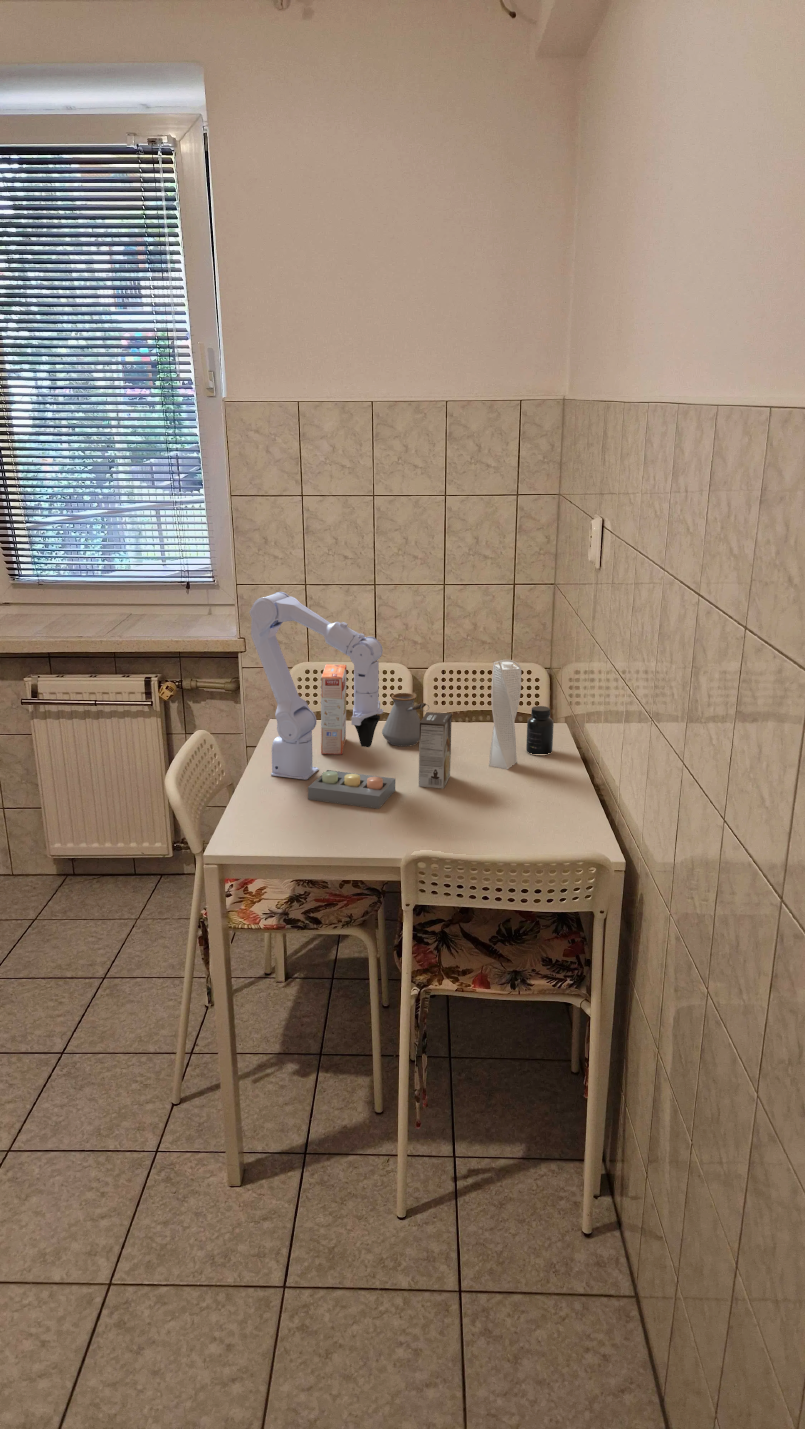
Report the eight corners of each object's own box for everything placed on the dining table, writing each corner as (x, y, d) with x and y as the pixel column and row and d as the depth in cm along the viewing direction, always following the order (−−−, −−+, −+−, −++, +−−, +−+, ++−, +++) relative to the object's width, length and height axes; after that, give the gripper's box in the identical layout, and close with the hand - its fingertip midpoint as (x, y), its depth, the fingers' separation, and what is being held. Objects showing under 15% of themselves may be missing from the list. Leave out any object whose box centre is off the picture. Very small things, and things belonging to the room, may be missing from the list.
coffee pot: (376, 737, 271) (376, 684, 267) (415, 733, 275) (416, 681, 271) (403, 762, 252) (404, 706, 248) (445, 758, 256) (446, 702, 252)
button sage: (319, 788, 231) (319, 775, 230) (325, 783, 234) (325, 770, 233) (334, 790, 230) (334, 777, 229) (340, 785, 233) (340, 772, 232)
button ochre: (342, 791, 229) (342, 778, 228) (347, 786, 233) (347, 773, 232) (357, 793, 228) (357, 780, 227) (362, 788, 232) (362, 774, 231)
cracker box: (343, 755, 257) (343, 677, 251) (320, 755, 257) (319, 676, 251) (347, 738, 270) (347, 663, 264) (325, 738, 270) (324, 663, 264)
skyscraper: (509, 772, 247) (514, 662, 239) (482, 766, 250) (486, 658, 242) (522, 762, 253) (527, 655, 245) (495, 757, 257) (500, 651, 249)
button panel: (308, 799, 228) (308, 787, 227) (327, 781, 239) (327, 770, 238) (378, 808, 223) (378, 796, 222) (395, 790, 234) (395, 778, 233)
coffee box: (424, 773, 245) (426, 711, 240) (450, 775, 244) (452, 712, 239) (417, 786, 236) (419, 722, 232) (444, 789, 235) (446, 724, 230)
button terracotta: (364, 794, 228) (364, 781, 227) (370, 789, 231) (370, 775, 230) (379, 796, 227) (379, 783, 226) (384, 791, 230) (384, 777, 229)
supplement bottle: (533, 746, 266) (536, 703, 263) (556, 751, 263) (559, 707, 259) (521, 752, 261) (523, 708, 258) (544, 758, 257) (546, 713, 254)
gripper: (372, 700, 223) (372, 757, 227) (392, 684, 237) (391, 738, 241) (342, 697, 225) (343, 754, 229) (364, 681, 239) (364, 735, 243)
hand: (366, 746), depth 235 cm, fingers closed
